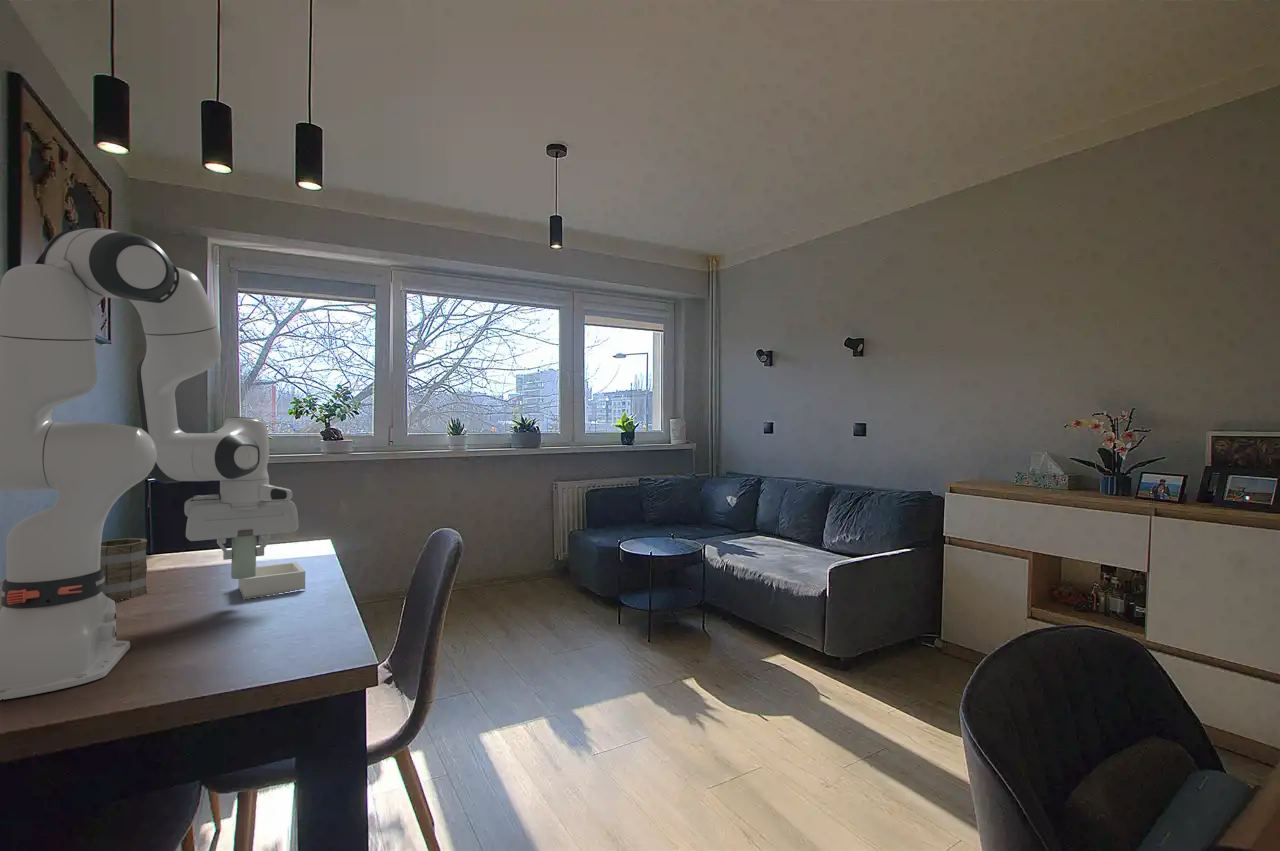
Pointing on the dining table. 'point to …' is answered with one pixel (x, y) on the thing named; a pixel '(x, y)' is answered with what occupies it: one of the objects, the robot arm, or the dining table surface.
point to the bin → (273, 580)
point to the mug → (124, 567)
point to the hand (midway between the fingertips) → (243, 557)
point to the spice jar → (243, 555)
